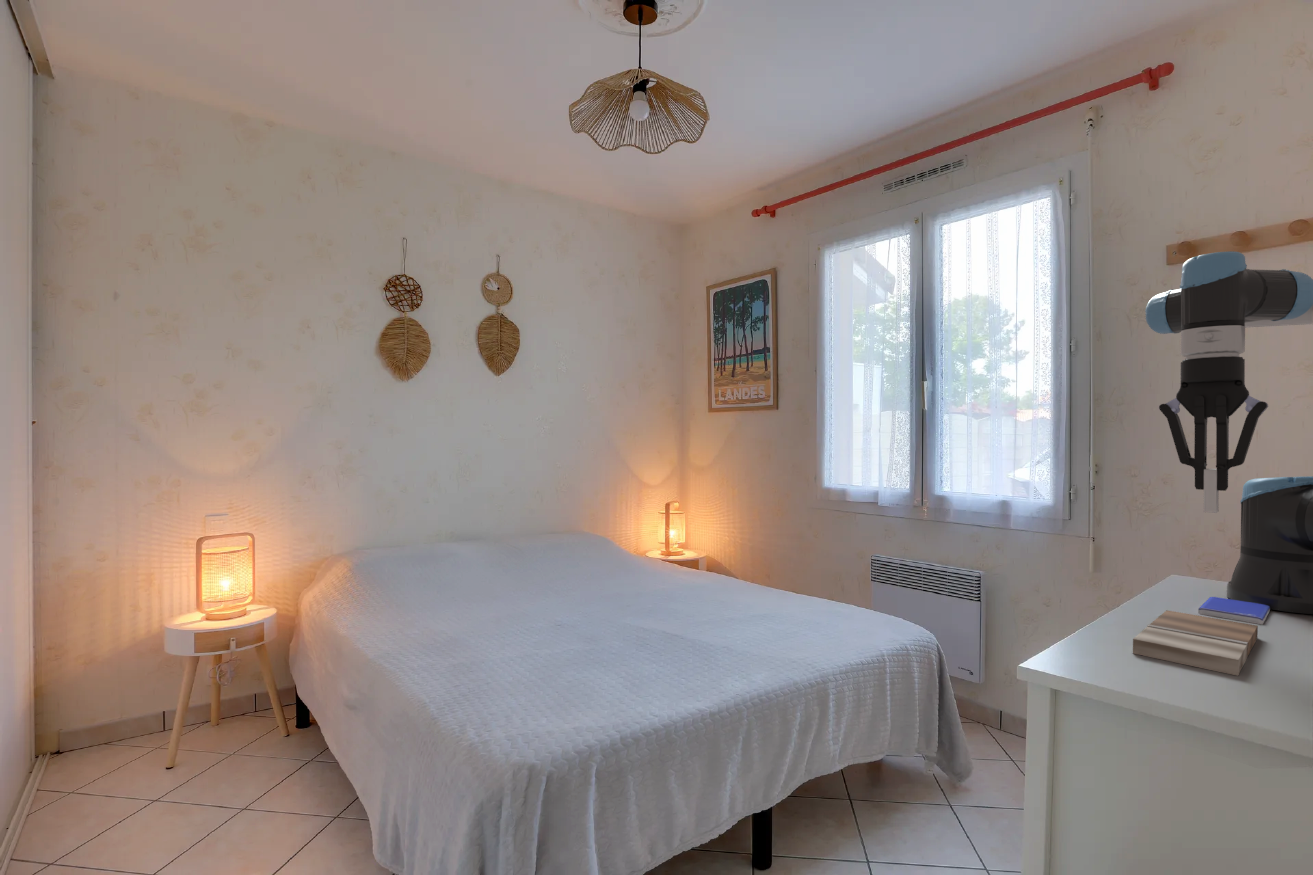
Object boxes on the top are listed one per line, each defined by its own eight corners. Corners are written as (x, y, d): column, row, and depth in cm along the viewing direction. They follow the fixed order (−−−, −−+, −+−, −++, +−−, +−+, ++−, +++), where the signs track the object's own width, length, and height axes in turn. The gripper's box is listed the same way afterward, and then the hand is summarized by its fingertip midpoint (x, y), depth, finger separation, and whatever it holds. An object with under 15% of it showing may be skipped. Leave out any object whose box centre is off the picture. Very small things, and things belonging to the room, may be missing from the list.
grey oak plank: (1238, 675, 84) (1238, 658, 84) (1132, 653, 92) (1133, 637, 92) (1247, 657, 91) (1247, 642, 91) (1148, 638, 99) (1148, 624, 99)
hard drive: (1262, 617, 108) (1270, 604, 116) (1198, 607, 114) (1209, 595, 122) (1262, 627, 108) (1269, 613, 116) (1198, 616, 114) (1209, 604, 122)
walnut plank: (1247, 656, 91) (1248, 642, 91) (1149, 637, 99) (1149, 624, 99) (1257, 638, 100) (1257, 625, 100) (1166, 621, 108) (1166, 610, 108)
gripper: (1154, 359, 104) (1153, 510, 104) (1268, 351, 94) (1266, 518, 95) (1163, 361, 109) (1162, 506, 109) (1271, 355, 100) (1270, 512, 100)
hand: (1211, 511), depth 102 cm, fingers closed
